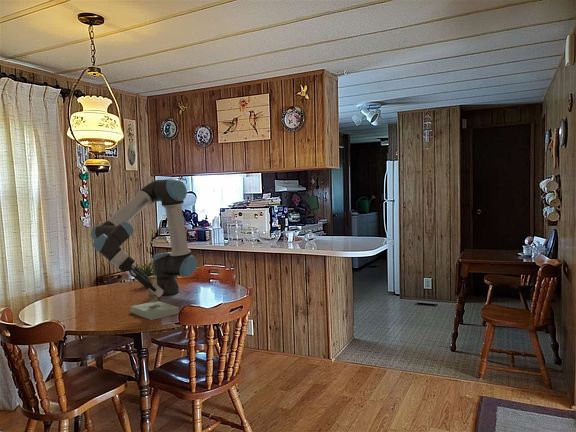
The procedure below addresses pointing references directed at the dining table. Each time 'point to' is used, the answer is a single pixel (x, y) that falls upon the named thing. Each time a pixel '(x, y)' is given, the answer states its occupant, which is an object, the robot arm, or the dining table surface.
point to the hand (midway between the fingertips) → (161, 294)
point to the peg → (151, 295)
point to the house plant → (147, 269)
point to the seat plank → (154, 310)
